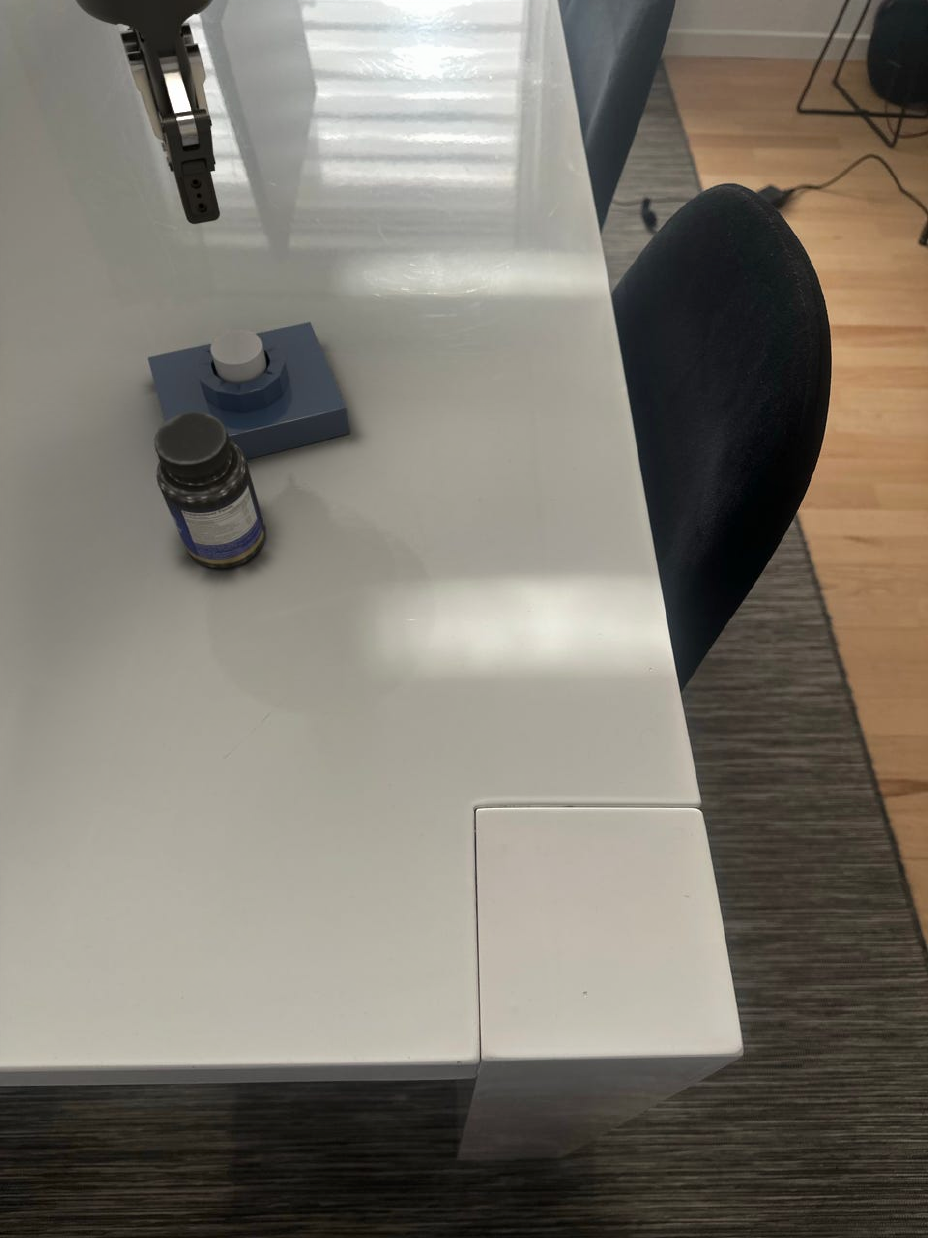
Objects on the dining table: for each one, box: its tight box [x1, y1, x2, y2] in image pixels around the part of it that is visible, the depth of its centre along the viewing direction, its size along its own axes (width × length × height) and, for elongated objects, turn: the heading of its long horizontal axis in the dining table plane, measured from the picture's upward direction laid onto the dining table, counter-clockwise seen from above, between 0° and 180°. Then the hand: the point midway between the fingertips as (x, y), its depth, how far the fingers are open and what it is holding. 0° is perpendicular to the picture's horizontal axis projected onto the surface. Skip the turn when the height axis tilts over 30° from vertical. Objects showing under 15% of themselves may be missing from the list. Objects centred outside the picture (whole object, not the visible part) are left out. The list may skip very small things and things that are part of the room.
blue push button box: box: [147, 321, 350, 460], centre depth 69 cm, size 14×11×5 cm
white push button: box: [210, 329, 267, 383], centre depth 66 cm, size 4×4×2 cm
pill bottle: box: [153, 412, 266, 569], centre depth 59 cm, size 6×6×11 cm
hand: (202, 215), depth 56 cm, fingers closed
